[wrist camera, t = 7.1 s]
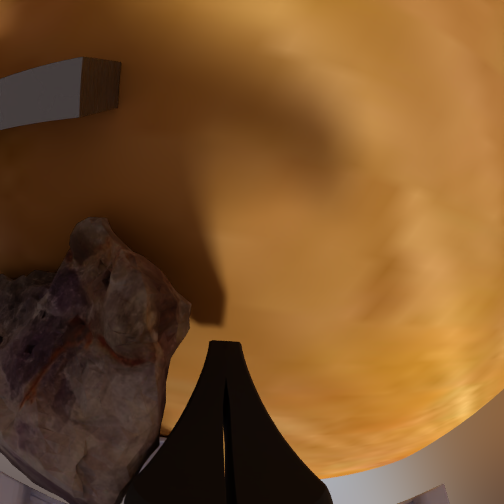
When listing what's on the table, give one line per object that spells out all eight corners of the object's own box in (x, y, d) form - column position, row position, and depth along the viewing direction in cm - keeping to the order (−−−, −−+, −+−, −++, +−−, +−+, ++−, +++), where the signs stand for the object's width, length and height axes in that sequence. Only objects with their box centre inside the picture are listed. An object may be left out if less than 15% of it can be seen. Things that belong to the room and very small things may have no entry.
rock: (-9, 229, 10) (67, 362, 15) (-109, 333, 3) (16, 462, 8) (181, 192, 8) (235, 386, 13) (-12, 487, 1) (206, 545, 6)
